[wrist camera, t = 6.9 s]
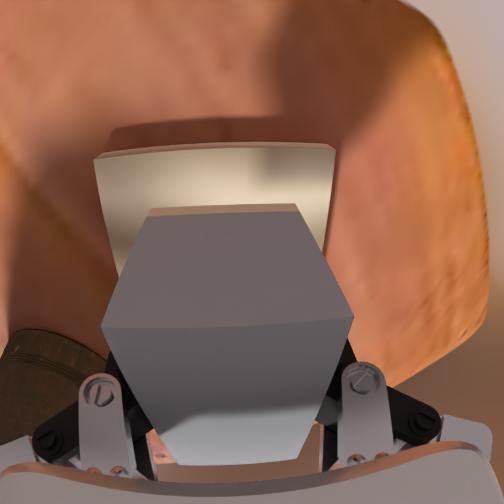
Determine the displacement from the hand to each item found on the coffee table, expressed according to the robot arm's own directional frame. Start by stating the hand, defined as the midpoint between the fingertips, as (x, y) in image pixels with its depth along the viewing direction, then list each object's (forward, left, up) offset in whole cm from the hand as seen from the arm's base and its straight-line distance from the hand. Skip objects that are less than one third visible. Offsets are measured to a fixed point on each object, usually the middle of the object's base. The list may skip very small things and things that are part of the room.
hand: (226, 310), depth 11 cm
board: (+8, 0, -9) cm, 12 cm away
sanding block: (0, 0, 0) cm, 0 cm away
